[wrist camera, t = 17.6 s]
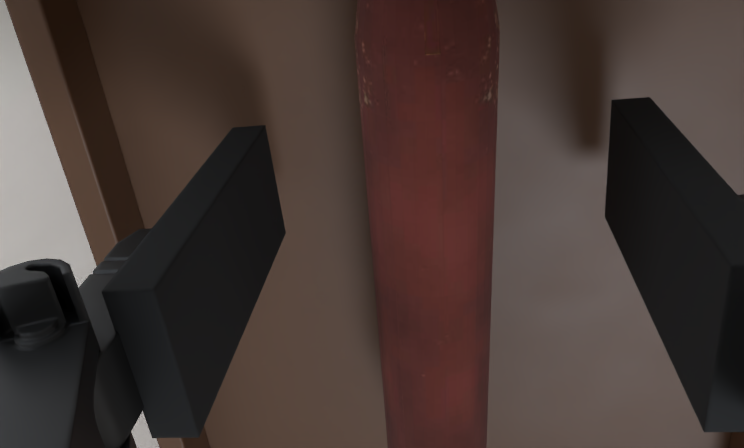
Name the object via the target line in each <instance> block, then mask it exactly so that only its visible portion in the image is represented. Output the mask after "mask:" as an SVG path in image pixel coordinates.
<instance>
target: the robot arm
mask: <svg viewBox="0 0 744 448" xmlns="http://www.w3.org/2000/svg"><path fill="white" fill-rule="evenodd" d="M605 219H606V221H607V223H608V225H609V227H610V229H611V232H612V234H613V236H614V238H615V240H616V242H617V245H618V247H619V249H620V251H621V253H622V255H623V258H624V260H625V262H626V264H627V266H628V268H629V271H630V273H631V275H632V277H633V279H634V281H635V284H636V286H637V288H638V290H639V292H640V294H641V297H642V299H643V301H644V303H645V305H646V307H647V310H648V312H649V314H650V316H651V318H652V320H653V323H654V325H655V327H656V329H657V331H658V333H659V336H660V338H661V340H662V342H663V344H664V346H665V349H666V351H667V353H668V355H669V357H670V359H671V362H672V364H673V366H674V368H675V370H676V372H677V375H678V377H679V379H680V381H681V383H682V386H683V388H684V390H685V392H686V394H687V396H688V399H689V401H690V403H691V405H692V407H693V409H694V412H695V414H696V416H697V418H698V420H699V422H700V425H701V427H702V429H703V431H704V432H744V195H737V194H736V193H735V192H734V190H733V189H732V188H731V187H730V186H729V185H728V184H727V183H726V182H725V180H724V179H723V178H722V177H721V176H720V175H719V174H718V173H717V171H716V170H715V169H714V168H713V167H712V166H711V165H710V164H709V163H708V161H707V160H706V159H705V158H704V157H703V156H702V155H701V154H700V153H699V151H698V150H697V149H696V148H695V147H694V146H693V145H692V144H691V142H690V141H689V140H688V139H687V138H686V137H685V136H684V135H683V134H682V132H681V131H680V130H679V129H678V128H677V127H676V126H675V125H674V123H673V122H672V121H671V120H670V119H669V118H668V117H667V116H666V115H665V113H664V112H663V111H662V110H661V109H660V108H659V107H658V106H657V105H656V103H655V102H654V101H653V100H652V99H651V98H650V97H644V98H630V99H616V100H612V101H611V118H610V135H609V152H608V168H607V185H606V202H605ZM285 234H286V231H285V226H284V220H283V215H282V210H281V204H280V199H279V194H278V189H277V183H276V178H275V173H274V167H273V162H272V157H271V152H270V146H269V141H268V136H267V130H266V125H260V126H246V127H233V128H232V129H231V130H230V131H229V133H228V134H227V135H226V136H225V138H224V139H223V140H222V141H221V143H220V144H219V145H218V146H217V148H216V149H215V150H214V151H213V153H212V154H211V155H210V156H209V158H208V159H207V160H206V161H205V163H204V164H203V165H202V166H201V168H200V169H199V170H198V171H197V173H196V174H195V175H194V176H193V178H192V179H191V180H190V181H189V183H188V184H187V185H186V186H185V188H184V189H183V190H182V191H181V193H180V194H179V195H178V196H177V198H176V199H175V200H174V201H173V203H172V204H171V205H170V206H169V208H168V209H167V210H166V211H165V213H164V214H163V215H162V216H161V218H160V219H159V220H158V221H157V223H156V224H155V225H154V226H153V228H149V229H138V230H137V231H135V232H134V233H132V234H131V235H129V236H127V237H126V238H124V239H123V240H121V241H120V242H118V243H117V244H116V245H115V246H114V247H113V249H112V250H111V251H110V252H109V253H108V254H107V255H106V257H105V258H104V261H103V262H100V264H99V265H98V266H97V267H96V268H95V269H94V271H93V274H90V275H89V276H88V278H87V279H86V280H85V281H84V282H83V283H82V285H81V286H80V287H79V288H78V286H77V283H76V281H75V278H74V275H73V272H72V270H71V267H70V264H68V263H66V262H64V261H62V260H57V259H40V260H33V261H27V262H24V263H20V264H17V265H14V266H10V267H8V268H6V269H4V270H1V271H0V448H137V447H136V444H135V441H134V438H133V436H132V433H131V430H132V429H133V427H134V425H135V423H136V421H137V420H138V418H139V416H140V414H141V412H142V410H143V412H144V415H145V418H146V421H147V424H148V427H149V430H150V432H151V435H152V438H199V436H200V434H201V432H202V429H203V427H204V425H205V422H206V420H207V418H208V415H209V413H210V411H211V408H212V406H213V403H214V401H215V399H216V396H217V394H218V392H219V389H220V387H221V385H222V382H223V380H224V378H225V375H226V373H227V370H228V368H229V366H230V363H231V361H232V359H233V356H234V354H235V352H236V349H237V347H238V345H239V342H240V340H241V337H242V335H243V333H244V330H245V328H246V326H247V323H248V321H249V319H250V316H251V314H252V312H253V309H254V307H255V304H256V302H257V300H258V297H259V295H260V293H261V290H262V288H263V286H264V283H265V281H266V279H267V276H268V274H269V271H270V269H271V267H272V264H273V262H274V260H275V257H276V255H277V253H278V250H279V248H280V246H281V243H282V241H283V239H284V236H285Z"/></svg>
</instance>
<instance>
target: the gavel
mask: <svg viewBox="0 0 744 448" xmlns="http://www.w3.org/2000/svg"><path fill="white" fill-rule="evenodd" d="M354 40H355V52H356V65H357V77H358V89H359V101H360V114H361V126H362V138H363V150H364V162H365V175H366V187H367V199H368V211H369V224H370V236H371V248H372V260H373V272H374V285H375V297H376V309H377V321H378V334H379V346H380V358H381V370H382V382H383V395H384V407H385V419H386V431H387V444H388V448H487V418H488V387H489V357H490V326H491V295H492V265H493V234H494V203H495V173H496V142H497V111H498V80H499V50H500V24H499V17H498V10H497V3H496V0H358V1H357V13H356V25H355V38H354Z"/></svg>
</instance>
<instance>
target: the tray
mask: <svg viewBox="0 0 744 448" xmlns="http://www.w3.org/2000/svg"><path fill="white" fill-rule="evenodd" d="M357 1H358V0H5V3H6V6H7V9H8V11H9V14H10V17H11V20H12V23H13V26H14V29H15V32H16V34H17V37H18V40H19V43H20V46H21V49H22V52H23V55H24V58H25V60H26V63H27V66H28V69H29V72H30V75H31V78H32V81H33V83H34V86H35V89H36V92H37V95H38V98H39V101H40V104H41V107H42V109H43V112H44V115H45V118H46V121H47V124H48V127H49V130H50V132H51V135H52V138H53V141H54V144H55V147H56V150H57V153H58V156H59V158H60V161H61V164H62V167H63V170H64V173H65V176H66V179H67V181H68V184H69V187H70V190H71V193H72V196H73V199H74V202H75V205H76V207H77V210H78V213H79V216H80V219H81V222H82V225H83V228H84V230H85V233H86V236H87V239H88V242H89V245H90V248H91V251H92V254H93V256H94V259H95V262H96V265H97V266H98V265H99V264H100V262H103V261H104V258H105V257H106V255H107V254H108V253H109V252H110V251H111V250H112V249H113V247H114V246H115V245H116V244H117V243H118V242H120V241H121V240H123V239H124V238H126V237H127V236H129V235H131V234H132V233H134V232H135V231H137V230H138V229H149V228H153V226H154V225H155V224H156V223H157V221H158V220H159V219H160V218H161V216H162V215H163V214H164V213H165V211H166V210H167V209H168V208H169V206H170V205H171V204H172V203H173V201H174V200H175V199H176V198H177V196H178V195H179V194H180V193H181V191H182V190H183V189H184V188H185V186H186V185H187V184H188V183H189V181H190V180H191V179H192V178H193V176H194V175H195V174H196V173H197V171H198V170H199V169H200V168H201V166H202V165H203V164H204V163H205V161H206V160H207V159H208V158H209V156H210V155H211V154H212V153H213V151H214V150H215V149H216V148H217V146H218V145H219V144H220V143H221V141H222V140H223V139H224V138H225V136H226V135H227V134H228V133H229V131H230V130H231V129H232V128H233V127H246V126H260V125H266V130H267V136H268V141H269V146H270V152H271V157H272V162H273V167H274V173H275V178H276V183H277V189H278V194H279V199H280V204H281V210H282V215H283V220H284V226H285V231H286V234H285V236H284V239H283V241H282V243H281V246H280V248H279V250H278V253H277V255H276V257H275V260H274V262H273V264H272V267H271V269H270V271H269V274H268V276H267V279H266V281H265V283H264V286H263V288H262V290H261V293H260V295H259V297H258V300H257V302H256V304H255V307H254V309H253V312H252V314H251V316H250V319H249V321H248V323H247V326H246V328H245V330H244V333H243V335H242V337H241V340H240V342H239V345H238V347H237V349H236V352H235V354H234V356H233V359H232V361H231V363H230V366H229V368H228V370H227V373H226V375H225V378H224V380H223V382H222V385H221V387H220V389H219V392H218V394H217V396H216V399H215V401H214V403H213V406H212V408H211V411H210V413H209V415H208V418H207V420H206V422H205V425H204V427H203V429H202V432H201V434H200V436H199V438H157V441H158V444H159V447H160V448H388V444H387V431H386V419H385V407H384V395H383V382H382V370H381V358H380V346H379V334H378V321H377V309H376V297H375V285H374V272H373V260H372V248H371V236H370V224H369V211H368V199H367V187H366V175H365V162H364V150H363V138H362V126H361V114H360V101H359V89H358V77H357V65H356V52H355V40H354V38H355V25H356V13H357ZM496 3H497V10H498V17H499V24H500V50H499V80H498V111H497V142H496V173H495V203H494V234H493V265H492V295H491V326H490V357H489V387H488V418H487V448H744V432H704V431H703V429H702V427H701V425H700V422H699V420H698V418H697V416H696V414H695V412H694V409H693V407H692V405H691V403H690V401H689V399H688V396H687V394H686V392H685V390H684V388H683V386H682V383H681V381H680V379H679V377H678V375H677V372H676V370H675V368H674V366H673V364H672V362H671V359H670V357H669V355H668V353H667V351H666V349H665V346H664V344H663V342H662V340H661V338H660V336H659V333H658V331H657V329H656V327H655V325H654V323H653V320H652V318H651V316H650V314H649V312H648V310H647V307H646V305H645V303H644V301H643V299H642V297H641V294H640V292H639V290H638V288H637V286H636V284H635V281H634V279H633V277H632V275H631V273H630V271H629V268H628V266H627V264H626V262H625V260H624V258H623V255H622V253H621V251H620V249H619V247H618V245H617V242H616V240H615V238H614V236H613V234H612V232H611V229H610V227H609V225H608V223H607V221H606V219H605V202H606V185H607V168H608V152H609V135H610V118H611V101H612V100H616V99H630V98H644V97H650V98H651V99H652V100H653V101H654V102H655V103H656V105H657V106H658V107H659V108H660V109H661V110H662V111H663V112H664V113H665V115H666V116H667V117H668V118H669V119H670V120H671V121H672V122H673V123H674V125H675V126H676V127H677V128H678V129H679V130H680V131H681V132H682V134H683V135H684V136H685V137H686V138H687V139H688V140H689V141H690V142H691V144H692V145H693V146H694V147H695V148H696V149H697V150H698V151H699V153H700V154H701V155H702V156H703V157H704V158H705V159H706V160H707V161H708V163H709V164H710V165H711V166H712V167H713V168H714V169H715V170H716V171H717V173H718V174H719V175H720V176H721V177H722V178H723V179H724V180H725V182H726V183H727V184H728V185H729V186H730V187H731V188H732V189H733V190H734V192H735V193H736V194H737V195H744V0H496Z"/></svg>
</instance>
